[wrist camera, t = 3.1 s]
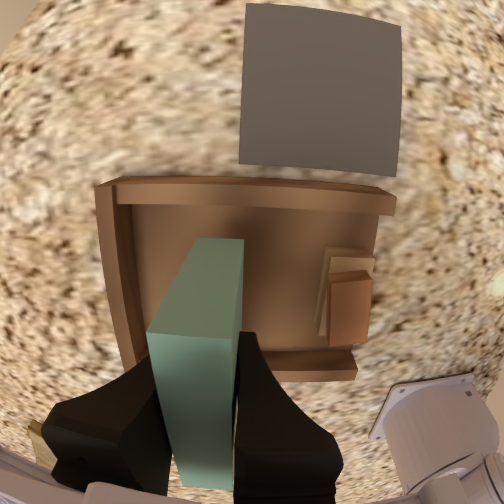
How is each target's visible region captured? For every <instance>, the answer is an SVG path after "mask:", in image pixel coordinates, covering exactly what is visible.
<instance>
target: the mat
mask: <svg viewBox="0 0 504 504" xmlns="http://www.w3.org/2000/svg"><path fill="white" fill-rule="evenodd" d="M401 103H402V42H401V26H398V25H394V24H391V23H387V22H383V21H379V20H375V19H371V18H366V17H362V16H357V15H352V14H347V13H341V12H336V11H330V10H323V9H316V8H308V7H299V6H289V5H275V4H254V3H246V14H245V32H244V52H243V73H242V95H241V119H240V145H239V164H250V165H271V166H288V167H303V168H316V169H327V170H338V171H348V172H357V173H366V174H374V175H382V176H390V177H396V172H397V162H398V152H399V139H400V124H401Z"/></svg>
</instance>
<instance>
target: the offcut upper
mask: <svg viewBox="0 0 504 504" xmlns="http://www.w3.org/2000/svg"><path fill="white" fill-rule="evenodd" d="M372 283H373V279H372V278H371V276H370V275H369V274H368V272H367V271H366V270H358V271H349V272H339V273H329V274H327V300H326V337H327V341H328V344H329V347H334V346H341V345H349V344H356V343H362V342H367V334H368V326H369V317H370V307H371V295H372Z"/></svg>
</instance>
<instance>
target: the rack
mask: <svg viewBox="0 0 504 504" xmlns="http://www.w3.org/2000/svg"><path fill="white" fill-rule="evenodd" d="M94 191H95V204H96V216H97V226H98V235H99V243H100V251H101V259H102V266H103V272H104V278H105V284H106V290H107V296H108V301H109V306H110V311H111V316H112V321H113V326H114V330H115V335H116V339H117V343H118V348H119V352H120V356H121V360H122V363H123V367H124V371H125V373H126V372H127V371H129V370H130V369H131V368H133V367H134V366H135V365H136V364H138V363H139V362H140V361H141V360H142V359H144V358H145V357H146V356H147V355H148V354H149V348H148V342H147V336H146V331H147V329H148V327H149V325H150V323H151V321H152V319H153V318H154V316H155V314H156V312H157V310H158V308H159V306H160V304H161V302H162V301H163V299H164V297H165V295H166V293H167V291H168V289H169V288H170V286H171V284H172V282H173V280H174V278H175V277H176V275H177V273H178V271H179V269H180V268H181V266H182V264H183V262H184V260H185V259H186V257H187V255H188V253H189V252H190V250H191V248H192V246H193V245H194V243H195V241H196V239H197V238H224V239H244V262H243V295H242V331H247V332H255V333H256V334H257V339H258V343H259V346H260V349H261V351H262V354H263V356H264V358H265V360H266V362H267V364H268V366H269V368H270V370H271V371H272V373H273V375H274V376H275V378H276V380H277V381H278V382H331V381H351V380H355V377H356V374H357V371H358V368H357V365H356V363H355V360H354V357H353V355H352V352H351V349H352V345H353V344H349V345H341V346H334V347H329V344H328V341H327V337H326V336H318V333H317V329H316V325H315V322H314V319H315V313H316V307H317V301H318V294H319V287H320V281H321V274H322V266H323V259H324V251H325V246H334V247H354V248H366V249H367V250H368V251H369V252H370V253H371V254H372V255H373V250H374V244H375V238H376V232H377V226H378V219H379V215H387V216H394V214H395V207H396V200H397V197H396V196H394V195H392V194H390V193H388V192H386V191H384V190H382V189H380V188H378V187H371V186H362V185H352V184H341V183H330V182H318V181H304V180H289V179H272V178H250V177H218V176H139V177H119V178H116V179H114V180H111V181H108V182H106V183H103V184H100V185H98V186H95V187H94Z"/></svg>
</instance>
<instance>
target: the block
mask: <svg viewBox="0 0 504 504" xmlns="http://www.w3.org/2000/svg"><path fill="white" fill-rule="evenodd" d="M243 262H244V239H224V238H197V239H196V241H195V243H194V245H193V246H192V248H191V250H190V252H189V253H188V255H187V257H186V259H185V260H184V262H183V264H182V266H181V268H180V269H179V271H178V273H177V275H176V277H175V278H174V280H173V282H172V284H171V286H170V288H169V289H168V291H167V293H166V295H165V297H164V299H163V301H162V302H161V304H160V306H159V308H158V310H157V312H156V314H155V316H154V318H153V319H152V321H151V323H150V325H149V327H148V329H147V331H146V336H147V342H148V348H149V353H150V358H151V364H152V369H153V374H154V379H155V383H156V388H157V392H158V397H159V401H160V406H161V410H162V414H163V418H164V422H165V426H166V430H167V433H168V437H169V441H170V445H171V448H172V452H173V455H174V458H175V462H176V465H177V468H178V472H179V475H180V478H181V481H182V484H183V486H191V487H199V488H208V489H219V490H233V478H234V442H235V433H236V423H237V412H238V401H237V375H238V340H239V332H240V331H242V295H243Z"/></svg>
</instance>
